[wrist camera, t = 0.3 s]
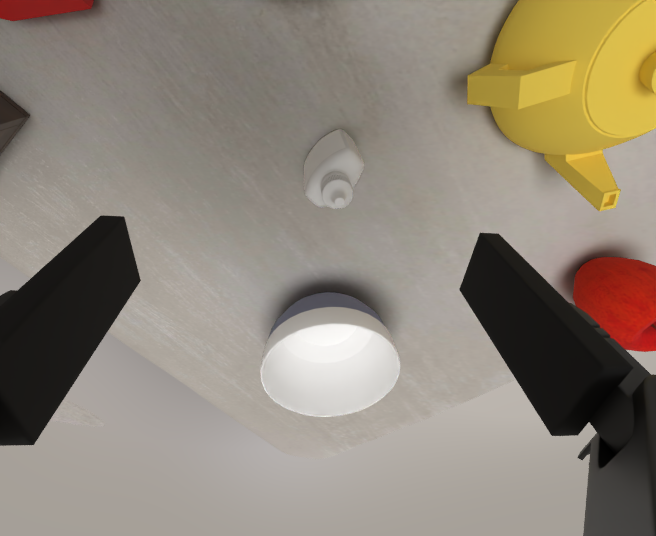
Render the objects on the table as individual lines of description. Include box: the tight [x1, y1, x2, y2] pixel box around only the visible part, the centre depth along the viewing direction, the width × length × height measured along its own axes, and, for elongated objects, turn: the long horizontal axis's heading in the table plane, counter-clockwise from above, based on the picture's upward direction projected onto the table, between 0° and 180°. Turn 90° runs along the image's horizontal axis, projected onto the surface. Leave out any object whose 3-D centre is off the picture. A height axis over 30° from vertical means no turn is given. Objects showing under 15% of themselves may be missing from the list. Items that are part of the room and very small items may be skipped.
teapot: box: [467, 0, 656, 211], centre depth 27 cm, size 17×17×12 cm
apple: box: [573, 257, 656, 352], centre depth 41 cm, size 10×10×12 cm
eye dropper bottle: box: [303, 129, 364, 209], centre depth 30 cm, size 4×6×12 cm
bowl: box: [260, 292, 400, 417], centre depth 44 cm, size 16×16×10 cm
